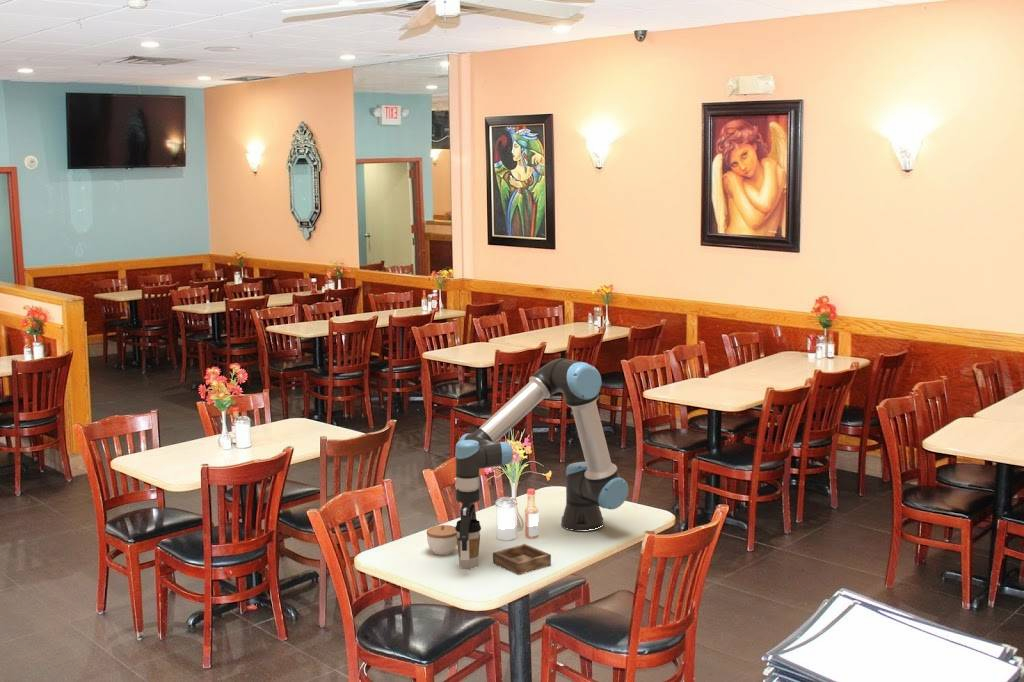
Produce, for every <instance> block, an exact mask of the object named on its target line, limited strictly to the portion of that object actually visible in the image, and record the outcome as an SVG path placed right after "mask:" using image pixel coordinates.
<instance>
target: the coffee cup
mask: <svg viewBox="0 0 1024 682" xmlns="http://www.w3.org/2000/svg"><path fill="white" fill-rule="evenodd" d="M460 520H461V519H459V520H457V521H456V524H455V526H454V527H455V530H456V531H457V535H456V538H457V546H456V547H457V551H458V552H457V554H458V561H459V567H460V568H461V567H462V568H461V569H464V568H467V569H466V570H469V569H470V570H472V569H471V568H473V569H476V568H478V566H479V553H480V541H481V530H482V525H481V523H480V521H479V520H475V519H472V520H471V521H470V527H469V560H461V550H460V541H458V538H459V536H460ZM463 537H465V536H463ZM475 567H476V568H475Z"/></svg>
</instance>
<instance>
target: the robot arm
mask: <svg viewBox="0 0 1024 682" xmlns="http://www.w3.org/2000/svg"><path fill="white" fill-rule="evenodd" d="M528 379H529V380H528V381H529V382H528V383H527V384H525V385H524V386H523V387H522V388H521V389H520V390H519V391H518V392H516V394H514V395H513V396H512V397H511V398H510V399H509V400H508V401H506V403H505V404H504V405H503V406H501V407H500V409H498V410H497V411H496V412H495V413H494V414H493V415H491V417H489V418H488V419H487V420H486V421H485V422H484V423H483V424H482V425H481V426H479V428H477V429H476V430H475V431H474V432H471V433H464V434H463V435H462V436H461V437H460V439H459V441H457V442H456V443H455V444H456V445H455V454H454V457H455V478H453V481H454V482H455V487H456V488H455V489H456V490H455V500H456V502H458V503H461V504H462V505H461V507H460V510H459V511H460V519H459V520H460V536H459V538H458V541H460V550H461V560H469V527H470V521H471V520H472V519H475V520H477V514H476V513H477V511H476V504H475V503H477V502H479V501H480V470H483V469H487V468H495V467H502V466H506V465H509V464H510V463H511V462H512V461H513V457H514V456H513V455H514V453H513V452H514V451H513V448H512V445H511V444H510V442H508V441H499V440H501V439H502V438H503V437H504V436H505V435H506V434H507V433H508V432H509V431H511V429H512V428H514V427H515V426H516V425H517V424H518V423H519V422H520V421H521V420H522V419H523V418H524V417H525V416H526V415H527V414H529V413H530V412H531V411H532V410H533V409H534V408H535V407H537V405H538V404H540V403H541V402H542V401H543V400H544V399H549V398H550V397H551V396H552V395H555V394H556V393H562V396H563V397H564V398H563V399H564V403H565V405H566V406H568V407H570V408H571V411H572V415H573V419H574V423H575V426H576V429H577V430H576V431H577V436H578V438H579V443H580V445H581V450H582V452H583V453H582V454H583V457H584V460H585V461H579V462H572V463H569V464H568V465H567V467H566V469H565V470H566V471H565V482H566V483H565V489H566V491H565V495H566V502H565V507H564V510H563V515H562V517H561V527H562V526H563V528H564V527H565V528H568V529H573V530H589V529H595V528H598V527H600V526H602V525H603V526H604V517H603V515H602V511H601V508H602V509H607V510H616V509H618V508H620V507H621V506H622V505H623V504H624V503H625V501H626V498H627V497H628V495H629V486H628V483H627V481H626V480H625V479H624V478H622V477H620V474H619V470H618V466H617V464H615V463H612V461H611V457H610V452H609V449H608V444H607V440H606V437H605V433H604V429H603V424H602V420H601V417H600V412H599V409H598V405H597V401H598V400H599V398H600V395H599V392H600V391H601V387H602V384H603V383H602V376H601V374H600V372H599V371H598V369H597V368H596V367H595V366H593V365H591V364H589V363H587V362H583V361H577V360H573V359H570V358H565V357H564V358H563V357H561V358H556V359H553V360H551V361H550V362H548V363H546V364H545V365H543V366H542V367H540V368H538V370H536V372H534V373H533V374H532V375H531V376H530V377H529V378H528ZM498 441H499V442H498ZM565 528H564V529H565ZM568 529H567V530H568ZM463 536H465V537H463Z"/></svg>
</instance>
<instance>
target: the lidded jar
mask: <svg viewBox="0 0 1024 682" xmlns="http://www.w3.org/2000/svg"><path fill="white" fill-rule="evenodd" d="M455 527H456V526H454V525H449V524H447V525H446V524H439V525H434V526H431V527H428V528H427V530H426V540H427V545H428V547H429V549H430V550H431V551H432V552H433V553H434V555H437V554H439V555H438V556H447V555H446V554H448V555H450V553H451V552H452V553H453V551H454V550H455V549H457V547H458V546H457V538H456V535H457V531H456V530H455ZM452 553H451V554H452Z"/></svg>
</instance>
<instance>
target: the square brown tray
mask: <svg viewBox="0 0 1024 682" xmlns="http://www.w3.org/2000/svg"><path fill="white" fill-rule="evenodd" d="M493 563H494V564H493ZM492 564H493V565H495V564H496V566H497V567H500V566H501V568H502V569H504V568H505V569H504V570H507V571H509V572H511V571H512V573H513V572H514V573H513V574H515V573H516V575H517V576H520V575H523V574H526V573H525V572H527V573H529V571H530V572H533V571H536V569H537V570H539V569H542V568H547V567H549V566H551V565H552V554H550V553H548V552H545V551H543V550H540V549H538V548H535V547H533V546H530V545H529V544H526V543H522V544H520V545H516V546H513V547H509V548H504V549H502V550H498V551H495V552H494V551H493V552H492ZM546 566H547V567H546ZM532 570H533V571H532ZM522 573H523V574H522ZM519 574H520V575H519Z"/></svg>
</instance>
